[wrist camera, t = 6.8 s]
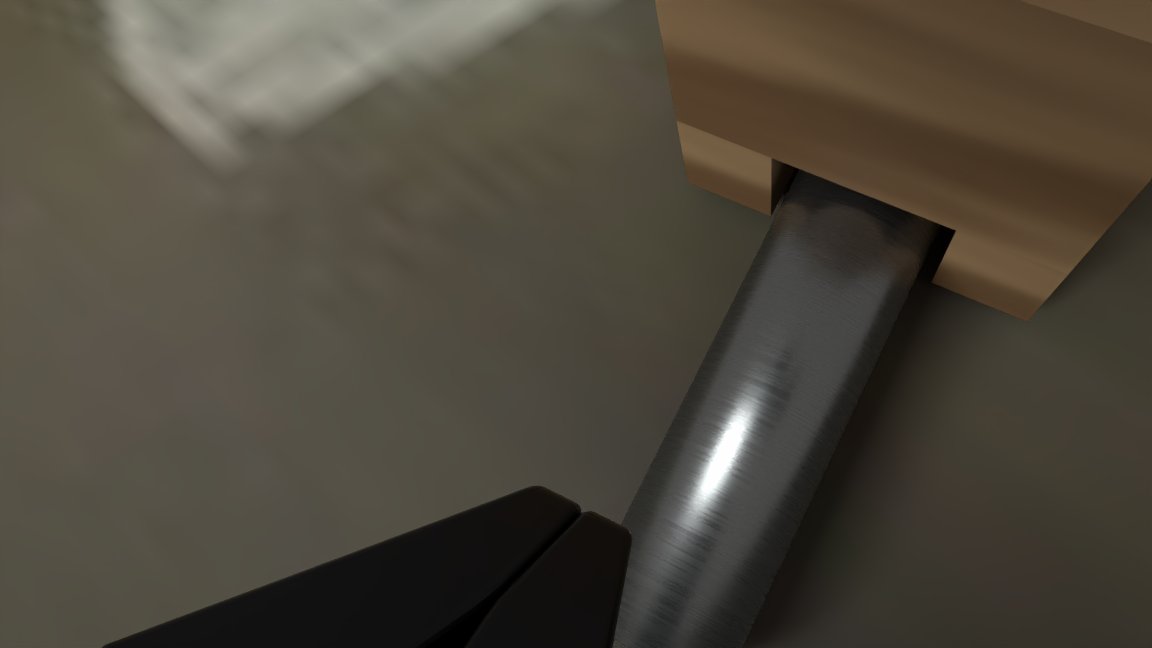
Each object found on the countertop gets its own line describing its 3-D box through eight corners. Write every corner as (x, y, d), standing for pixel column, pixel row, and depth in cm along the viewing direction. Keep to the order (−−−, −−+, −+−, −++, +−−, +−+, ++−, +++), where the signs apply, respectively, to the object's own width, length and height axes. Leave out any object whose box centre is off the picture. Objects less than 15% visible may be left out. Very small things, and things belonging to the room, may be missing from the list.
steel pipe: (729, 688, 20) (723, 700, 17) (587, 610, 21) (557, 608, 18) (1043, 18, 23) (1085, -73, 20) (906, -27, 24) (926, -121, 21)
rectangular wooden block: (1026, 322, 21) (1244, 73, 11) (687, 182, 23) (632, -125, 13) (1102, 154, 21) (1365, -214, 12) (765, 33, 24) (764, -359, 14)
